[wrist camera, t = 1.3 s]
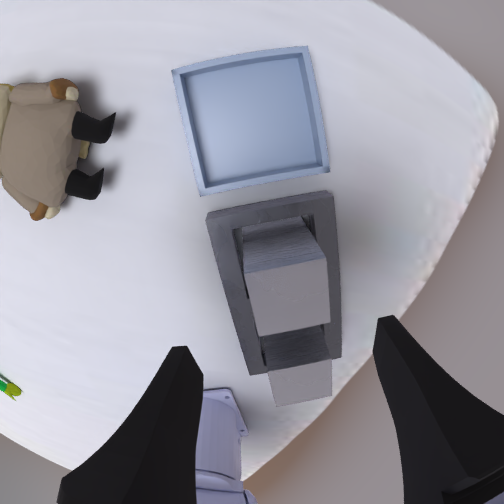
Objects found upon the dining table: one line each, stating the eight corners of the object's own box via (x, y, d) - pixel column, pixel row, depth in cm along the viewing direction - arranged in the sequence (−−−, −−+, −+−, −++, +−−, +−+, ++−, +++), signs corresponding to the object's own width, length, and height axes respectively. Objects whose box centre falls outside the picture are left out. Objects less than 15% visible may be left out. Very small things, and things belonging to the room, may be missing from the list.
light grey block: (307, 267, 21) (330, 322, 16) (253, 278, 22) (258, 336, 16) (300, 216, 20) (326, 258, 14) (242, 227, 20) (243, 274, 14)
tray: (321, 167, 18) (330, 172, 17) (203, 189, 19) (200, 196, 17) (301, 53, 15) (307, 45, 13) (177, 75, 15) (171, 70, 14)
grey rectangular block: (314, 337, 24) (332, 395, 18) (268, 346, 24) (276, 406, 19) (310, 300, 23) (331, 358, 17) (260, 310, 23) (267, 371, 17)
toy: (137, 88, 16) (-11, 76, 13) (106, 83, 11) (-57, 80, 7) (109, 218, 20) (-23, 184, 17) (79, 256, 15) (-64, 208, 12)
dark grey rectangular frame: (336, 345, 25) (341, 357, 23) (249, 362, 25) (249, 375, 24) (326, 190, 19) (333, 196, 18) (207, 212, 19) (205, 220, 18)
